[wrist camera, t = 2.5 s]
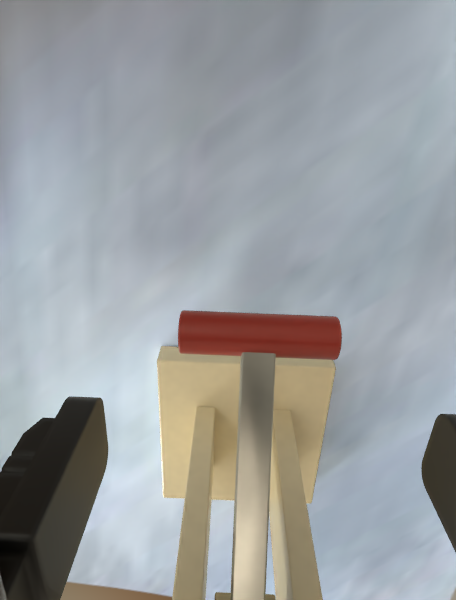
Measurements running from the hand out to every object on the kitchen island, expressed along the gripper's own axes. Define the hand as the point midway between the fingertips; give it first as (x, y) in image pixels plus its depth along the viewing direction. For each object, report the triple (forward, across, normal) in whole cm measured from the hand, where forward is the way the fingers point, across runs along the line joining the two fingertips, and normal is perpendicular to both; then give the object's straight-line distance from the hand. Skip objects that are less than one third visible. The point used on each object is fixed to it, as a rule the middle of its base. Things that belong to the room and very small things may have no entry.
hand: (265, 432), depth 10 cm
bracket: (+11, 0, +10) cm, 15 cm away
